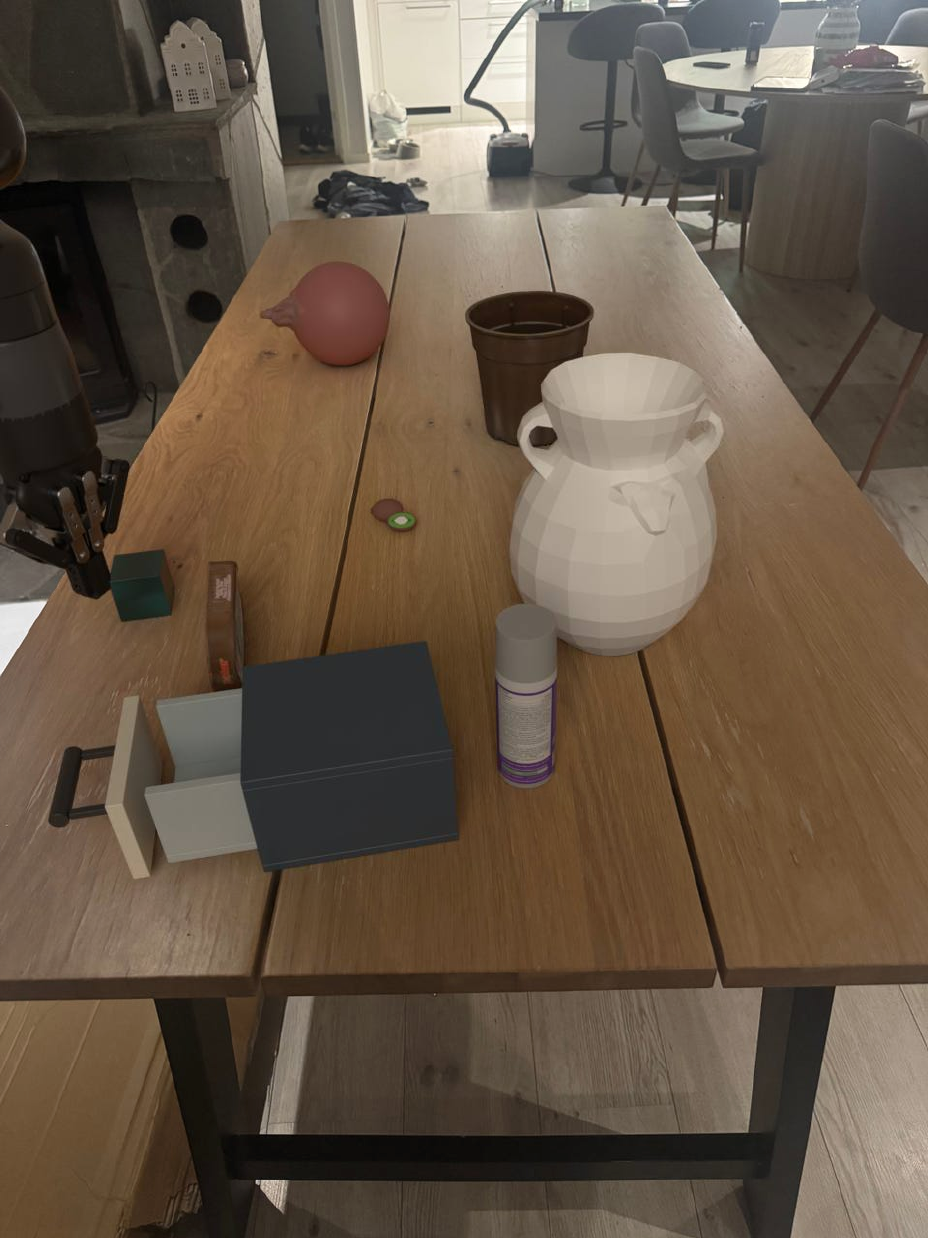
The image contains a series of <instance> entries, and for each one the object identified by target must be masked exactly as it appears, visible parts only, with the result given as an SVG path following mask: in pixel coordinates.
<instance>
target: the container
mask: <svg viewBox="0 0 928 1238" xmlns="http://www.w3.org/2000/svg"><path fill="white" fill-rule="evenodd" d="M494 622H495V625H494V627H495V628H494V629H495V631H494V633H495V634H494V635H495V636H494V690H495V691H494V692H495V693H494V694H495V729H496V735H495V736H496V765H497V772H498V775H499V777H500V778H501V779H502V780H503V782H505V783H507V784H508V785H510V786H513V787H515V788H519V789H533V788H537V787H538V788H539V787H540V786H543V785H544V784H547V782H549V780H550V779H551V778H552V777H553V775H554V772H555V765H556V763H555V760H556V730H557V729H556V728H557V727H556V726H557V725H556V723H557V698H558V697H557V696H558V695H557V694H558V691H557V690H558V637H557V620H556V617H555V615H554V614H553V613H552V612H551V611H550V610H548V609H547V608H545V607H542V606H539V605H535V604H524V603H518V604H513V605H510V606H507V607H506V608H504V609H502V610H501V611H500V612H499V613H498V614H497V616H496V617H495V621H494Z"/></svg>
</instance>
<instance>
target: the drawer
mask: <svg viewBox="0 0 928 1238" xmlns="http://www.w3.org/2000/svg"><path fill="white" fill-rule="evenodd" d="M144 707H145V706H144V705H143V701H142V699H141V696H140V695H131V696H124V697H123V701H122V706H121V713H120V718H119V724H118V730H117V735H116V741H115V745H109V746H103V747H95V748H88V749H82V748H81V747H79V746H75V745H72V746H71V745H70V746H68V747H66V748H65V749H64V751H63V755H62V759H61V763H60V767H59V771H58V775H57V780H56V783H55V784H56V785H55V789H54V792H53V793H54V794H53V796H52V802H51V805H50V808H49V809H50V810H49V814H48V818H47V822H48V824H49V825H50V826H51V827H53V828H57V829H60V828H61V829H62V828H65V827H66V826H68V825H69V823H70V821H75V820H80V819H81V820H82V819H87V818H94V817H100V816H105V815H107V816H108V819H109V820H110V824H111V826H112V828H113V829H112V830H113V831H114V834H115V836H116V838H117V841H118V843H119V846H120V849H121V851H122V854H123V856H124V859H125V861H126V864H127V866H128V868H129V871H130V874H131V876H132V878H133V880H139V879H145V878H149V877H150V878H151V872H152V863H153V855H154V846H155V838H156V832H157V835H158V838H159V841H160V843H161V845H162V849H163V851H164V855H165V858H166V860H167V862H168V864H173V863H179V862H185V861H191V860H197V859H203V858H209V857H215V856H221V855H229V854H232V853H233V854H234V853H239V852H240V853H241V852H247V851H253V850H258V849H257V845H256V841H255V837H254V833H253V830H252V826H251V822H250V818H249V814H248V811H247V807H246V803H245V799H244V795H243V792H242V788H241V784H240V769H241V720H242V687H241V688H239V689H233V690H224V691H217V692H213V691H212V692H206V693H199V694H191V695H183V696H179V697H171V698H164V699H157V700H156V704H155V708H156V711H157V714H158V717H159V720H160V723H161V727H162V730H163V733H164V736H165V739H166V742H167V745H168V746H167V747H168V749H169V752H170V755H171V758H172V762H173V764H174V774H173V782H171V783H164V784H162V778H163V777H162V776H163V767H164V765H163V762H162V759H161V756H160V752H159V750H158V746H157V744H156V740H155V738H154V735H153V732H152V729H151V725H150V723H149V720H148V717H147V714H146V711H145V708H144ZM110 757H111V758H112V757H113V758H112V764H111V769H110V775H109V781H108V786H107V792H106V798H105V803H99V804H93V805H86V806H80V807H74V801H75V797H76V793H77V787H78V783H79V777H80V773H81V769H82V763H83V762H84V761H90V760H91V761H92V760H97V759H105V758H110Z"/></svg>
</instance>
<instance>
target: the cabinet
mask: <svg viewBox="0 0 928 1238" xmlns="http://www.w3.org/2000/svg"><path fill="white" fill-rule="evenodd" d="M433 666H434V665H433V662H432V658H431V653H430V649H429V645H428V641H427V640H422V641H414V642H408V643H400V644H394V645H386V646H380V647H372V648H366V649H365V648H364V649H359V650H357V649H356V650H350V651H344V652H337V653H329V654H321V655H314V656H307V657H302V658H301V657H300V658H295V659H286V660H279V661H273V662H267V663H265V662H264V663H258V664H252V665H251V664H250V665H244V666H243V671H242V687H241V688H242V720H241V769H240V784H241V788H242V792H243V795H244V799H245V803H246V807H247V811H248V814H249V818H250V822H251V826H252V830H253V833H254V837H255V841H256V845H257V849H256V850H257V852H258V856H259V859H260V863H261V868H262V871H263V873H270V872H275V871H282V870H288V869H293V868H300V867H305V866H311V865H318V864H324V863H329V862H335V861H342V860H347V859H353V858H359V857H360V858H361V857H365V856H371V855H378V854H383V853H388V852H396V851H401V850H407V849H415V848H419V847H425V846H430V845H432V846H433V845H438V844H443V843H448V842H449V843H450V842H455V841H456V842H457V841H459V828H458V827H459V825H458V812H457V811H458V809H457V796H456V781H455V766H454V765H455V763H454V749H453V746H452V741H451V737H450V734H449V729H448V724H447V721H446V720H447V719H446V715H445V713H444V707H443V703H442V699H441V695H440V691H439V687H438V683H437V678H436V674H435V670H434V667H433Z"/></svg>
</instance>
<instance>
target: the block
mask: <svg viewBox="0 0 928 1238" xmlns="http://www.w3.org/2000/svg"><path fill="white" fill-rule="evenodd" d="M110 574H111V581H110V582H109V583H110V586H111V589H110V592H111V595H112V598H113V601H114V604H115V607H116V611H117V613H118V617H119V620H120V622H121V623H125V622H132V621H140V620H147V619H154V618H162V617H169V616H172V611H173V605H174V604H173V603H174V597H175V596H174V595H175V584H174V581H173V577H172V574H171V570H170V566H169V563H168V558H167V556H166V552H165V549H164V548H162V549H161V548H160V549H153V550H145V551H138V552H128V553H123V554H114V555H113V560H112V564H111V569H110Z"/></svg>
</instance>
